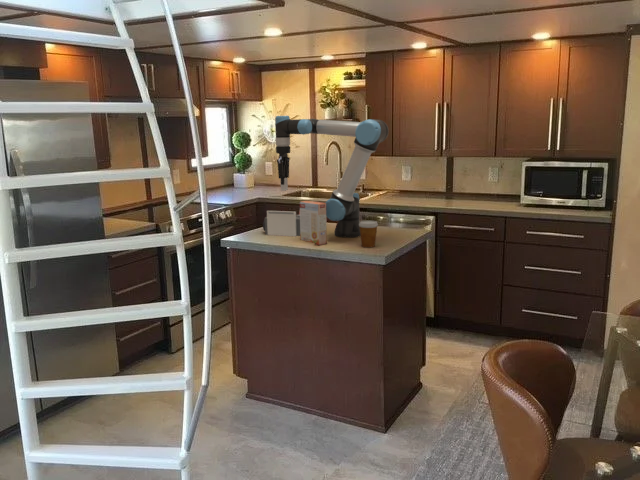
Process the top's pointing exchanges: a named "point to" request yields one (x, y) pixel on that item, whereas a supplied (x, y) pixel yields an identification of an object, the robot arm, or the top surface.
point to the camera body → (296, 225)
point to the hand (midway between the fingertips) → (284, 190)
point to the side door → (281, 223)
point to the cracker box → (313, 222)
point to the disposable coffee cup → (368, 233)
